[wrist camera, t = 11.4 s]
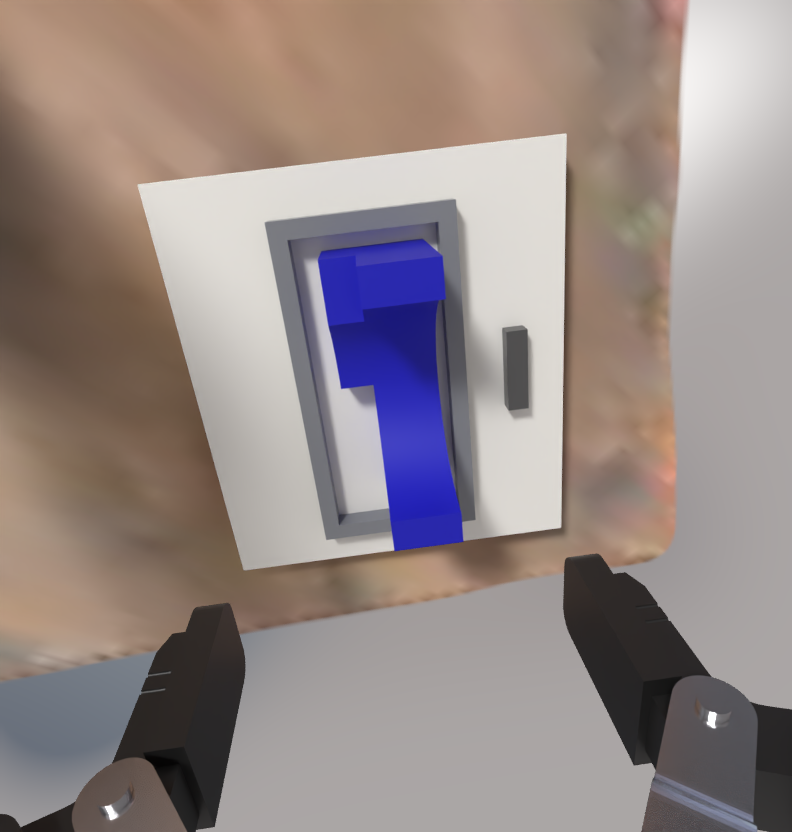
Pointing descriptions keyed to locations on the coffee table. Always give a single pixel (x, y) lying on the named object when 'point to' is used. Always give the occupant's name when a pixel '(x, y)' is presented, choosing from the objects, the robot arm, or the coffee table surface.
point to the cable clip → (397, 375)
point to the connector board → (313, 349)
